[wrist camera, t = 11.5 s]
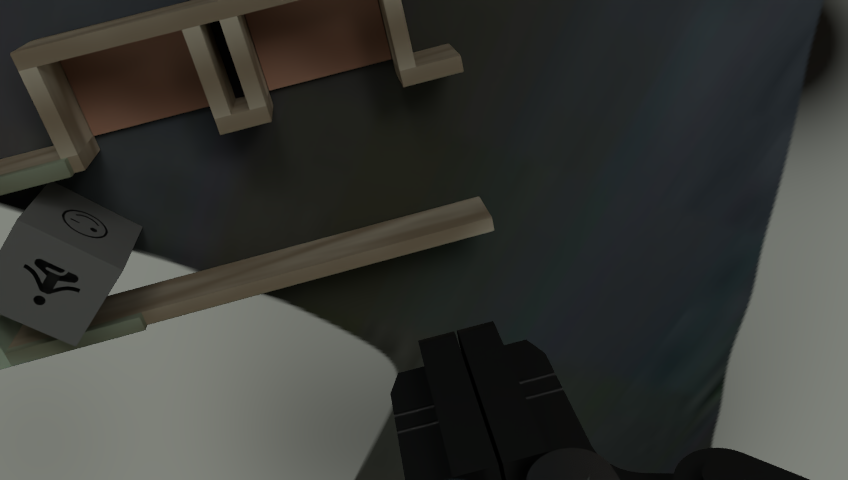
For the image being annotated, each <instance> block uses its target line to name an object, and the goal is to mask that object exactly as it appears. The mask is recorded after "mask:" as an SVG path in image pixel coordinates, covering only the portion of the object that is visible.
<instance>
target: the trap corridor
mask: <svg viewBox="0 0 848 480" xmlns="http://www.w3.org/2000/svg"><path fill="white" fill-rule="evenodd" d="M379 5H380V8H379ZM380 9H381V12H380ZM381 13H382V16H381ZM244 14H245V16H244ZM245 17H246V19H245ZM382 17H383V20H382ZM246 20H247V22H246ZM215 21H220V24H221V27H222V30H223V33H224V36H225V39H226V42H227V45H228V48H229V50H230V53H231V56H232V59H233V62H234V65H235V68H236V71H237V74H238V77H239V80H240V83H241V86H242V89H243V92H244V94H245V96H243V97H239V98H235V95H234V92H233V89H232V86H231V83H230V81H229V78H228V75H227V72H226V69H225V66H224V63H223V60H222V58H221V55H220V52H219V49H218V46H217V43H216V40H215V37H214V35H213V32H212V29H211V26H210V23H211V22H215ZM383 21H384V25H383ZM247 23H248V25H247ZM384 26H385V29H384ZM248 27H249V29H248ZM249 30H250V32H249ZM385 30H386V33H385ZM250 33H251V35H250ZM386 34H387V37H386ZM251 36H252V38H251ZM387 38H388V41H387ZM252 39H253V41H252ZM253 42H254V44H253ZM388 42H389V46H388ZM254 45H255V47H254ZM389 47H390V50H389ZM255 48H256V50H255ZM256 51H257V53H256ZM390 51H391V54H390ZM257 54H258V56H257ZM10 55H11V57H12V59H13V61H14V63H15V65H16V67H17V69H18V72H19V74H20V76H21V78H22V80H23V82H24V84H25V86H26V88H27V90H28V92H29V94H30V96H31V98H32V101H33V103H34V105H35V107H36V109H37V111H38V113H39V115H40V117H41V119H42V121H43V123H44V125H45V127H46V130H47V132H48V134H49V136H50V138H51V140H52V142H53V144H54V146H50V147H46V148H42V149H38V150H34V151H30V152H27V153H23V154H19V155H15V156H11V157H7V158H3V159H0V195H4V194H8V193H11V192H15V191H19V190H23V189H27V188H31V187H34V186H38V185H42V184H46V183H50V182H54V181H57V180H61V179H65V178H69V177H72V176H73V174H74V173H77V172H80V171H84V170H86V168H87V167H88V166H89V164H90V163H91V162H92V160H93V159H94V158H95V156H96V155H97V154H98V152H99V151H100V148H99V146H98V144H97V141H96V139H95V137H94V136H96V135H100V134H104V133H108V132H112V131H115V130H119V129H123V128H127V127H131V126H135V125H139V124H143V123H146V122H150V121H154V120H158V119H162V118H166V117H170V116H173V115H177V114H181V113H185V112H189V111H193V110H197V109H201V108H204V107H208V106H210V108H211V111H212V114H213V117H214V119H215V122H216V125H217V128H218V130H219V133H220V135H222V134H226V133H230V132H234V131H238V130H242V129H246V128H249V127H253V126H257V125H261V124H265V123H269V122H272V113H273V103H272V100H271V96H270V93H269V91H270V90H274V89H278V88H282V87H286V86H290V85H293V84H297V83H301V82H305V81H309V80H313V79H317V78H320V77H324V76H328V75H332V74H336V73H340V72H344V71H348V70H351V69H355V68H359V67H363V66H367V65H371V64H375V63H379V62H382V61H386V60H390V59H393V63H394V68H395V72H396V74H397V76H398V78H399V80H400V82H401V84H402V85H403V87H407V86H411V85H414V84H418V83H422V82H426V81H430V80H434V79H437V78H441V77H445V76H449V75H453V74H457V73H460V72H464V71H463V65H462V60H461V55H460V54H459V53H458V52H457V51H456V50H455V49H454V48H453V47H452V46H451V45H450V44H449V43H448V44H445V45H441V46H437V47H433V48H429V49H425V50H421V51H417V52H414V53H413V51H412V47H411V42H410V38H409V33H408V29H407V24H406V20H405V15H404V11H403V6H402V2H401V0H379V3H378V0H191V1H187V2H183V3H179V4H175V5H171V6H167V7H163V8H159V9H155V10H151V11H147V12H143V13H139V14H135V15H131V16H127V17H123V18H120V19H116V20H112V21H108V22H104V23H100V24H96V25H92V26H88V27H84V28H80V29H76V30H72V31H68V32H64V33H60V34H56V35H52V36H48V37H44V38H40V39H36V40H32V41H30V42H29V43H27V44H25V45H23V46H22V47H20V48H18V49H16V50H15V51H13V52H11V53H10ZM391 55H392V58H391ZM258 57H259V59H258ZM259 61H260V62H259ZM260 64H261V66H260ZM261 67H262V69H261ZM262 70H263V72H262ZM263 73H264V75H263ZM264 76H265V78H264ZM265 79H266V81H265ZM266 82H267V84H266ZM267 85H268V87H267ZM268 88H269V90H268ZM491 231H494V226H493V221H492V217H491V215H490V214H489V212H488V210H487V209H486V207H485V205H484V204H483V202H482V200H481V199H480V197H479V196H478V197H474V198H471V199H467V200H463V201H459V202H456V203H452V204H448V205H445V206H441V207H437V208H433V209H430V210H426V211H422V212H419V213H415V214H411V215H407V216H404V217H400V218H396V219H393V220H389V221H385V222H381V223H378V224H374V225H370V226H367V227H363V228H359V229H355V230H352V231H348V232H344V233H341V234H337V235H333V236H329V237H326V238H322V239H318V240H314V241H311V242H307V243H303V244H300V245H296V246H292V247H288V248H285V249H281V250H277V251H274V252H270V253H266V254H262V255H259V256H255V257H251V258H248V259H244V260H240V261H236V262H233V263H229V264H225V265H222V266H218V267H214V268H210V269H207V270H203V271H199V272H196V273H192V274H188V275H185V276H181V277H177V278H174V279H170V280H166V281H162V282H158V283H155V284H151V285H148V286H144V287H140V288H136V289H133V290H129V291H125V292H121V293H118V294H114V295H110V296H107V297H106V299H105V300H104V302H103V304H102V305H101V307H100V308H99V310H98V312H97V313H96V315H95V317H94V318H93V320H92V321H91V323H90V325H89V326H88V328H87V330H86V331H85V333H84V334H83V336H82V338H81V339H80V341H79V342H78V344H77V346H76V347H75V346H73V345H71V344H68V343H66V342H64V341H61V340H59V339H57V338H54V337H52V336H50V335H47V334H45V333H42V332H40V331H38V330H35V329H33V328H31V327H28V326H26V325H24V324H21V323H19V322H17V321H14V320H12V319H10V318H7V317H5V316H3V315H0V369H4V368H7V367H11V366H15V365H19V364H22V363H26V362H30V361H33V360H37V359H41V358H44V357H48V356H52V355H55V354H59V353H63V352H66V351H70V350H74V349H77V348H81V347H85V346H88V345H92V344H96V343H99V342H103V341H106V340H110V339H114V338H118V337H122V336H125V335H129V334H133V333H136V332H140V331H143V330H146V327H147V325H148V324H152V323H156V322H159V321H163V320H167V319H170V318H174V317H178V316H182V315H185V314H189V313H192V312H196V311H200V310H204V309H207V308H211V307H215V306H218V305H222V304H226V303H229V302H233V301H237V300H241V299H244V298H248V297H252V296H255V295H259V294H263V293H266V292H270V291H274V290H277V289H281V288H285V287H288V286H292V285H296V284H299V283H303V282H307V281H310V280H314V279H318V278H322V277H325V276H329V275H333V274H336V273H340V272H344V271H347V270H351V269H355V268H358V267H362V266H366V265H369V264H373V263H377V262H380V261H384V260H388V259H391V258H395V257H399V256H403V255H406V254H410V253H414V252H417V251H421V250H425V249H428V248H432V247H436V246H439V245H443V244H447V243H450V242H454V241H458V240H461V239H465V238H469V237H472V236H476V235H480V234H484V233H487V232H491Z"/></svg>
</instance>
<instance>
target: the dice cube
mask: <svg viewBox="0 0 848 480" xmlns="http://www.w3.org/2000/svg"><path fill="white" fill-rule="evenodd" d="M141 230H142V226H140V225H138V224H136V223H134V222H132V221H130V220H128V219H126V218H124V217H122V216H120V215H118V214H116V213H114V212H112V211H110V210H108V209H106V208H104V207H102V206H100V205H98V204H96V203H95V202H93V201H91V200H89V199H87V198H85V197H83V196H81V195H79V194H77V193H75V192H73V191H71V190H69V189H67V188H65V187H63V186H61V185H59V184H57V183H55V182H50V183H47V185H46V186H45V187H44V188H43V189H42V191H41V192H40V193H39V194H38V195H37V196H36V198H35V199H34V200H33V201H32V202H31V204H30V205H29V206H28V207H27V208H26V210H25V211H24V212H23V213H22V214H21V216H20V217H19V218H18V219H17V221H16V223H15V224H14V226H13V228H12V230H11V232H10V233H9V235H8V237H7V239H6V241H5V242H4V244H3V246H2V248H1V250H0V315H3V316H5V317H7V318H10V319H12V320H14V321H17V322H19V323H21V324H24V325H26V326H28V327H31V328H33V329H35V330H38V331H40V332H42V333H45V334H47V335H50V336H52V337H54V338H57V339H59V340H61V341H64V342H66V343H68V344H71V345H73V346H75V347H76V346H77V344H78V342H79V341H80V339H81V338H82V336H83V334H84V333H85V331H86V330H87V328H88V326H89V325H90V323H91V321H92V320H93V318H94V317H95V315H96V313H97V312H98V310H99V308H100V307H101V305H102V304H103V302H104V300H105V299H106V297H107V296H108V294H109V292H110V291H111V289H112V287H113V286H114V284H115V283H116V281H117V279H118V278H119V276H120V274H121V273H122V271H123V269H124V267H125V265H126V263H127V260H128V258H129V256H130V254H131V252H132V249H133V247H134V245H135V243H136V241H137V238H138V236H139V234H140V232H141Z"/></svg>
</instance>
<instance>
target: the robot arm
mask: <svg viewBox="0 0 848 480" xmlns="http://www.w3.org/2000/svg"><path fill="white" fill-rule="evenodd" d="M457 335H458V340H459V344H458V341H457V338H456V335H455V333H454V332H450V333H446V334H442V335H439V336H435V337H431V338H427V339H423V340H419V341H418V342H419V346H420V350H421V354H422V358H423V362H424V367H420V368H416V369H413V370H409V371H405V372H401V373H398V375H397V378H396V380H395V383H394V386H393V388H392V391H391V399H392V405H393V411H394V416H395V423H396V428H397V433H398V440H399V446H400V452H401V457H402V463H403V469H404V475H405V480H809V479H807V478H804V477H802V476H799V475H797V474H794V473H792V472H789V471H787V470H784V469H782V468H779V467H777V466H774V465H772V464H769V463H767V462H764V461H762V460H759V459H757V458H754V457H752V456H749V455H747V454H744V453H741V452H738V451H735V450H731V449H726V448H725V449H724V448H707V449H702V450H698V451H695V452H693V453H691V454H689V455H687V456H686V457H685V458H683V459H682V460H681V461H680V463H679V464H678V465H677V467H676V469H675V472H674V474H665V473H636V472H630V471H626V470H623V469H620V468H617V467H615V466H613V465H611V464H609V462H607V461H606V460H605V459H604V458H603V457H601V456H600V455H598V454H597V453H596V452H595V451H594V449H593V447H592V446H591V444H590V442H589V440H588V438H587V436H586V434H585V432H584V430H583V428H582V426H581V424H580V422H579V420H578V418H577V416H576V414H575V412H574V410H573V408H572V406H571V404H570V402H569V400H568V398H567V396H566V394H565V392H564V391H563V390H562V386H561V384H560V382H559V380H558V378H557V376H556V375H555V373H554V370H553V368H552V366H551V364H550V362H549V360H548V358H547V356H546V354H545V353H544V352H543V351H541V350H540V349H538V348H537V347H536V346H534V345H533V344H532V343H530V342H529V341H527V340H523V341H519V342H516V343H512V344H508V345H503V343H502V340H501V338H500V336H499V333H498V331H497V329H496V326H495V324H494V322H493V321H492V322H488V323H484V324H480V325H477V326H473V327H469V328H465V329H461V330H457ZM459 345H460V347H459ZM460 349H461V350H460Z"/></svg>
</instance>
